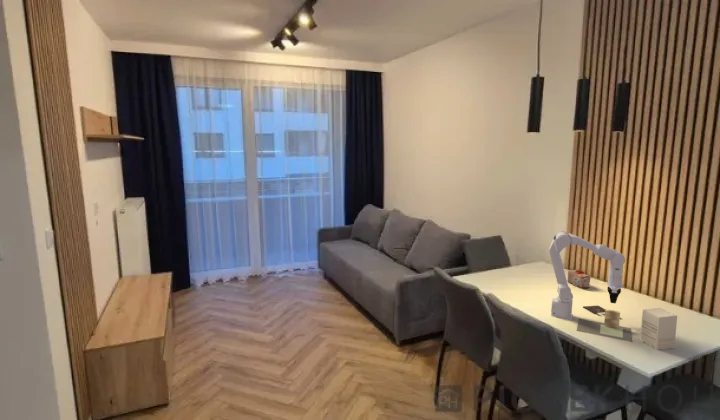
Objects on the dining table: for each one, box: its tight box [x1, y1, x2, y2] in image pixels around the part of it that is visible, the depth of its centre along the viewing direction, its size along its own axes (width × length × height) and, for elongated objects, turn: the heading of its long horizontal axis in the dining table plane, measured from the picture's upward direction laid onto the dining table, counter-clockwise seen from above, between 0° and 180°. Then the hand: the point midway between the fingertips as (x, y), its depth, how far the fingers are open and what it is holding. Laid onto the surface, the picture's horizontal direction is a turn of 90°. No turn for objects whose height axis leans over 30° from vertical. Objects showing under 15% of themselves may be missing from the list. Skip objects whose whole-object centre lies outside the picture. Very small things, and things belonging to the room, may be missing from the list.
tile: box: [603, 308, 621, 329], centre depth 192 cm, size 6×2×8 cm, turn 58°
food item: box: [567, 269, 591, 289], centre depth 251 cm, size 14×8×10 cm, turn 12°
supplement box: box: [639, 307, 678, 351], centre depth 175 cm, size 9×9×15 cm
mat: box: [576, 318, 633, 343], centre depth 190 cm, size 22×16×1 cm
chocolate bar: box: [582, 305, 623, 320], centre depth 209 cm, size 9×1×18 cm
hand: (613, 302), depth 197 cm, fingers closed
